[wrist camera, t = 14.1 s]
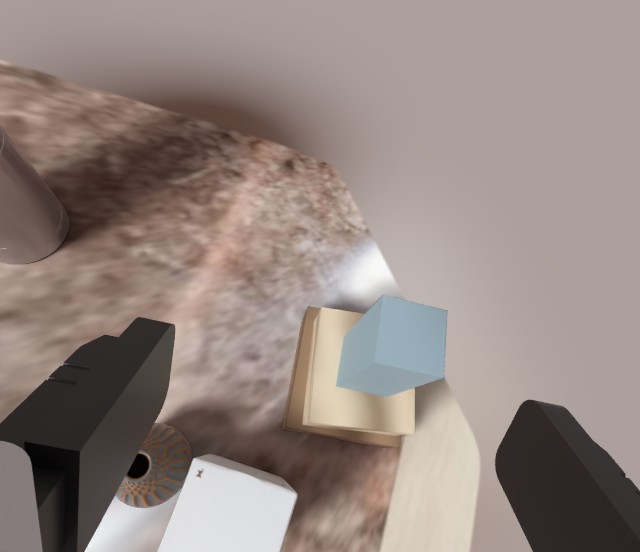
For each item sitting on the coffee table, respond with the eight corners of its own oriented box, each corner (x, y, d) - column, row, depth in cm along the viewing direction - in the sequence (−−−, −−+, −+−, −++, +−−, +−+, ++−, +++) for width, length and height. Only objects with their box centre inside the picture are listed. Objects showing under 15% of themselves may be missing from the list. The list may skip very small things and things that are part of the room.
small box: (181, 522, 39) (152, 556, 27) (208, 452, 41) (192, 454, 29) (262, 549, 39) (269, 594, 27) (284, 477, 41) (299, 490, 30)
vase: (192, 418, 42) (179, 412, 34) (198, 492, 40) (186, 504, 32) (120, 432, 41) (89, 429, 33) (122, 510, 38) (88, 526, 30)
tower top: (302, 424, 38) (309, 422, 34) (313, 322, 42) (321, 307, 38) (395, 435, 39) (414, 434, 35) (397, 334, 43) (415, 321, 39)
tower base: (281, 429, 43) (286, 427, 38) (301, 322, 48) (308, 306, 43) (381, 447, 44) (400, 447, 39) (391, 340, 49) (409, 326, 44)
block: (335, 386, 35) (374, 362, 25) (344, 335, 37) (383, 295, 27) (386, 397, 35) (443, 378, 25) (391, 346, 37) (447, 310, 27)
